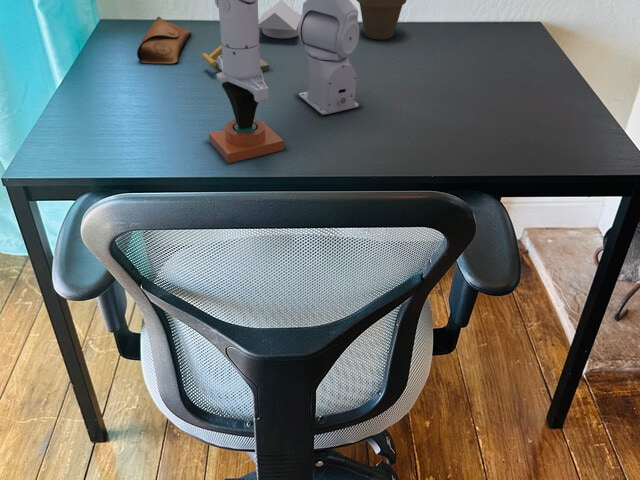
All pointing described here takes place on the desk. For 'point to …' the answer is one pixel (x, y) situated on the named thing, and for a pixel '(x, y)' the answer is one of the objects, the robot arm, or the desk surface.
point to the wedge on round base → (280, 21)
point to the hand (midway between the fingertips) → (245, 126)
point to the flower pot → (380, 17)
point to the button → (245, 129)
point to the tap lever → (213, 56)
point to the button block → (245, 142)
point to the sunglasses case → (162, 43)
